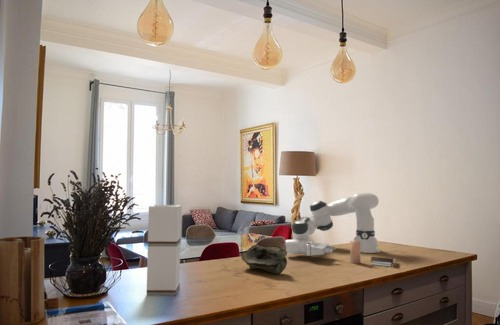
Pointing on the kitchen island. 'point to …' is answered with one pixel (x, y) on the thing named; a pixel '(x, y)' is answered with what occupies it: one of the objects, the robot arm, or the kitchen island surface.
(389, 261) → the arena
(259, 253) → the hollow geode rock
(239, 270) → the kitchen island surface
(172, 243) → the white banded pillar
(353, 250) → the terracotta jar
